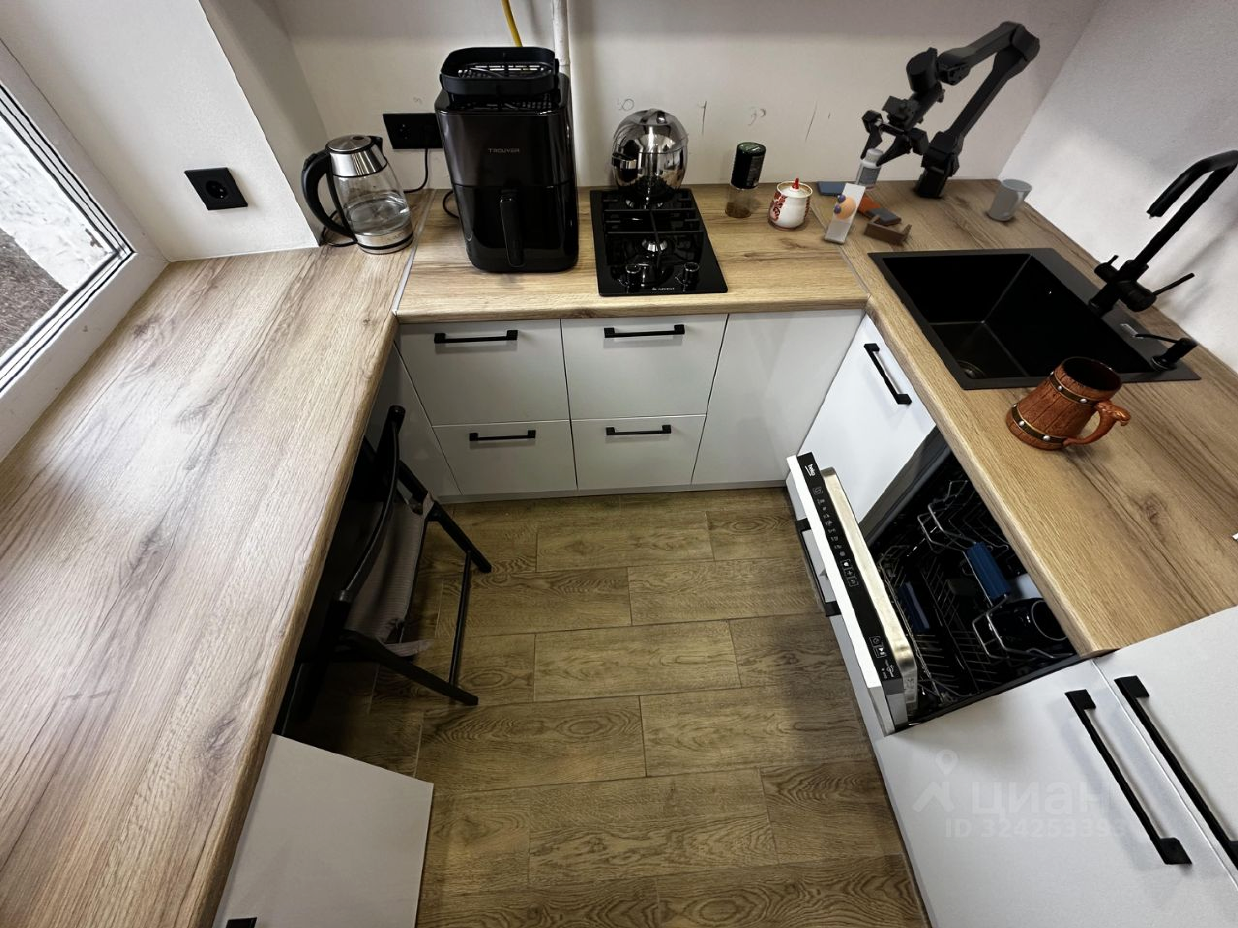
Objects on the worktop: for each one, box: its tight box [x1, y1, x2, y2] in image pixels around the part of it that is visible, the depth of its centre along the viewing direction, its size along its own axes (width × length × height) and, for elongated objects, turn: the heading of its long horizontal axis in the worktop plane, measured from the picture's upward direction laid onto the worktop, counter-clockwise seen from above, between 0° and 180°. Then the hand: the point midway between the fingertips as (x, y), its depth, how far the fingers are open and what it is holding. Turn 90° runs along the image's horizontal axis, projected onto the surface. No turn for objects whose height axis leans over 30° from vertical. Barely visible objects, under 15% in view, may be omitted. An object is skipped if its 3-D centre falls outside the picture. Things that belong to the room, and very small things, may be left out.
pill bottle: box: [853, 148, 885, 192], centre depth 137 cm, size 5×5×9 cm
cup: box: [987, 178, 1033, 222], centre depth 142 cm, size 8×10×8 cm
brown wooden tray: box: [863, 215, 913, 246], centre depth 137 cm, size 6×9×3 cm
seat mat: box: [816, 180, 864, 198], centre depth 155 cm, size 12×8×1 cm, turn 84°
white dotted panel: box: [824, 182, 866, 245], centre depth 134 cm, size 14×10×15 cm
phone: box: [857, 196, 902, 227], centre depth 145 cm, size 6×1×15 cm
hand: (868, 162), depth 135 cm, fingers closed on pill bottle, 5 cm apart
